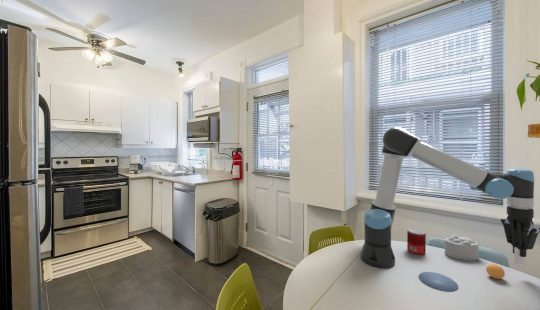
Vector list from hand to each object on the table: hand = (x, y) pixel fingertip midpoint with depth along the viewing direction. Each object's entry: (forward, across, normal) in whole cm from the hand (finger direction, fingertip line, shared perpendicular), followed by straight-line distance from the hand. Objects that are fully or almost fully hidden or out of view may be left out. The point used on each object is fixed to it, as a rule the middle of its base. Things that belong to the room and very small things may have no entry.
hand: (519, 263), depth 95 cm
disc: (+5, 0, +35) cm, 36 cm away
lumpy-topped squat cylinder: (+6, +20, +8) cm, 22 cm away
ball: (+3, 0, +10) cm, 11 cm away
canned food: (+6, +25, +26) cm, 37 cm away
